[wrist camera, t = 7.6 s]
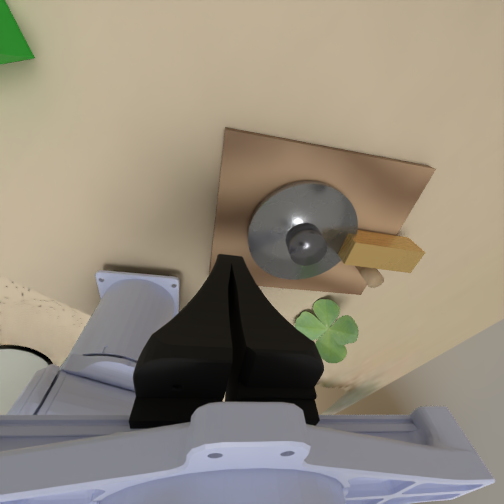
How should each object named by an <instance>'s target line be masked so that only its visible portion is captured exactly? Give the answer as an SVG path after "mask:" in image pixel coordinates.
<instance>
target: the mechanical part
mask: <svg viewBox="0 0 504 504" xmlns="http://www.w3.org/2000/svg"><path fill="white" fill-rule="evenodd" d="M33 58H35V57H34V56H33V54H32V52H31V50H30V48H29V46H28V44H27V42H26V40H25V38H24V36H23V34H22V32H21V30H20V29H19V27H18V25H17V23H16V21H15V19H14V17H13V15H12V13H11V11H10V9H9V7H8V5H7V4H6V2H5V0H0V64H6V63H11V62H17V61H22V60H28V59H33Z"/></svg>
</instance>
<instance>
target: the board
mask: <svg viewBox="0 0 504 504" xmlns="http://www.w3.org/2000/svg"><path fill="white" fill-rule="evenodd" d="M435 170H436V169H435V168H432V167H430V166H427V165H422V164H416V163H411V162H406V161H401V160H395V159H390V158H385V157H380V156H374V155H369V154H364V153H358V152H353V151H348V150H343V149H337V148H332V147H327V146H321V145H316V144H311V143H306V142H300V141H295V140H290V139H285V138H279V137H274V136H269V135H263V134H258V133H253V132H248V131H242V130H237V129H232V128H227V127H225V136H224V145H223V154H222V163H221V172H220V181H219V191H218V200H217V209H216V218H215V227H214V236H213V246H212V255H211V264H210V273H211V271H212V269H213V267H214V265H215V262H216V259H217V255H219V254H226V255H235V256H242V257H243V258H244V261H245V263H246V265H247V267H248V269H249V271H250V273H251V275H252V277H253V279H254V280H255V282H256V284H257V285H258V286H265V287H276V288H288V289H299V290H311V291H322V292H334V293H345V294H357V295H361V294H362V292H363V290H364V289H365V287H366V285H368V286H369V287H371V288H374V287H378V286H380V285H381V284H382V283H383V281H384V278H383V276H382V275H381V274H380V272H379V271H378V270H377V269H376V268H368V267H360V266H352V265H345V264H344V263H343V262H342V260H341V261H340V262H339V263H338V264H337V265H335V266H334V267H332V268H331V269H329V270H328V271H326V272H324V273H322V274H320V275H317V276H314V277H311V278H306V279H299V280H290V279H282V278H278V277H275V276H273V275H270V274H269V273H267V272H265V271H264V270H263V269H261V268H260V267H259V266H258V265H257V264H256V262H255V261H254V260H253V258H252V256H251V253H250V250H249V245H248V225H249V221H250V218H251V216H252V214H253V212H254V210H255V209H256V207H257V206H258V205H259V203H260V202H261V201H262V200H263V199H264V198H265V197H266V196H267V195H269V194H270V193H271V192H273V191H274V190H276V189H278V188H280V187H282V186H284V185H287V184H290V183H293V182H298V181H310V180H312V181H319V182H323V183H327V184H329V185H331V186H333V187H335V188H336V189H338V190H339V191H340V192H341V193H343V194H344V195H345V196H346V197H347V198H348V200H349V201H350V202H351V203H352V205H353V207H354V209H355V211H356V214H357V219H358V230H362V231H369V232H375V233H381V234H388V235H394V236H396V235H397V233H398V232H399V230H400V228H401V227H402V225H403V223H404V222H405V220H406V218H407V217H408V215H409V213H410V212H411V210H412V208H413V207H414V205H415V203H416V202H417V200H418V198H419V197H420V195H421V193H422V192H423V190H424V188H425V187H426V185H427V183H428V182H429V180H430V178H431V176H432V175H433V173H434V171H435ZM210 273H209V275H210Z"/></svg>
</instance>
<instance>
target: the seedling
mask: <svg viewBox="0 0 504 504" xmlns="http://www.w3.org/2000/svg"><path fill="white" fill-rule="evenodd" d="M339 310H340V309H339V307H338V305H337V304H336V303H335V302H333V301H332V300H329V299H327V300H325V299H320V300H318V301H316V302H315V304H314V306H313V311H314V313H315V315H316V316H317V318H318V319H319V320H320V321H321V322H322V323H321V322H320V321H319V320H318V319H317V318H316V317H315V316H314V315H312V314H311V313H309V312H306V311H305V312H302V313H301V315H300V317H298V318H297V319H296V323H295V328H296V329H297V330H299V331H300V332H301V333H303V334H304V335H305V336H307V337H308V338H309V339H311V340H315V339H318V338H319V339H318V340H317V341H316V344H315V345H316V347H317V349H318V351H319V354H320V356H321V358H322V359H323V360H325V361H326V362H328V363H338V362H340V361H342V360H343V359H344V358H345V357H346V354H347V351H346V347H345V346H344V345H345V344H348V343H354V342H355V341H356V340H357V337H358V327H357V324H356V323H355V321H354V320H353V318H352V317H350V316H348V315H345V316H342V317H341V318H339V319H338V320H337V321H336V322H335V323H334V324H333V322H334V321H335V320H336V318H337V317H338V316H339ZM332 324H333V325H332ZM331 325H332V326H331Z"/></svg>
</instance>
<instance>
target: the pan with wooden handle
mask: <svg viewBox="0 0 504 504" xmlns="http://www.w3.org/2000/svg"><path fill="white" fill-rule="evenodd" d="M248 245H249V250H250V253H251V256H252V258H253V260H254V261H255V262H256V264H257V265H258V266H259V267H260V268H261V269H263V270H264V271H265V272H267V273H269V274H270V275H273V276H275V277H278V278H282V279H290V280H299V279H306V278H311V277H314V276H317V275H320V274H322V273H324V272H326V271H328V270H329V269H331V268H332V267H334V266H335V265H337V264H338V263H339V262H340V261H341V260H342V262H343V263H344V264H345V265H352V266H360V267H368V268H376V269H384V270H392V271H400V272H408V273H411V272H412V270H413V269H414V267H415V266H416V265H417V263H418V262H419V261H420V259H421V258H422V257H423V255H424V254H425V252H424V251H423V250H422V249H421V248H419V247H418V246H417V245H416V244H415V243H414V242H413V241H411V240H410V239H409V238H407V237H401V236H394V235H388V234H381V233H375V232H369V231H362V230H358V219H357V214H356V211H355V209H354V207H353V205H352V203H351V202H350V201H349V200H348V198H347V197H346V196H345V195H344V194H343V193H341V192H340V191H339V190H338V189H336V188H335V187H333V186H331V185H329V184H327V183H323V182H319V181H312V180H310V181H298V182H293V183H290V184H287V185H284V186H282V187H280V188H278V189H276V190H274V191H273V192H271V193H270V194H269V195H267V196H266V197H265V198H264V199H263V200H262V201H261V202H260V203H259V205H258V206H257V207H256V209H255V210H254V212H253V214H252V216H251V218H250V221H249V225H248Z"/></svg>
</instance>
